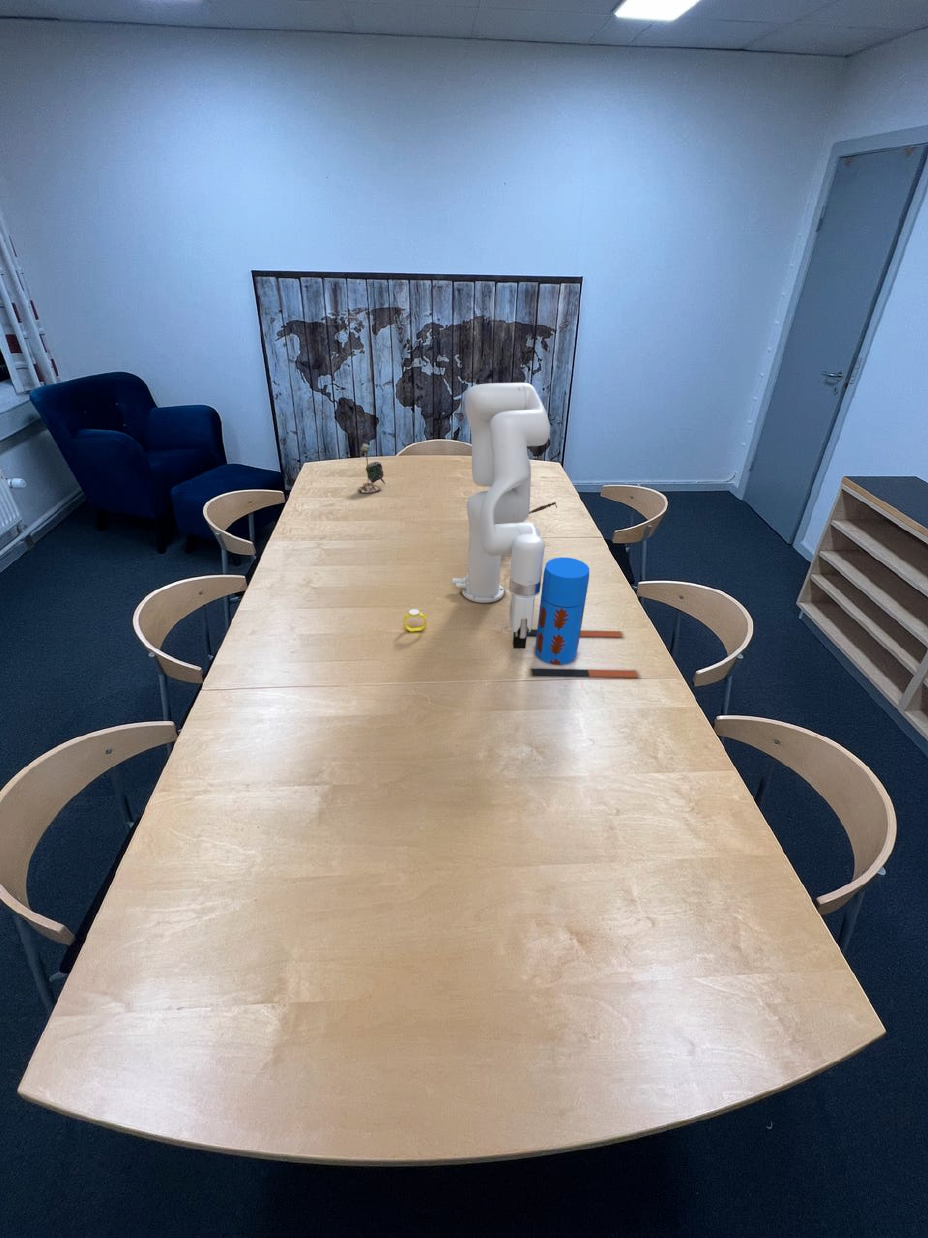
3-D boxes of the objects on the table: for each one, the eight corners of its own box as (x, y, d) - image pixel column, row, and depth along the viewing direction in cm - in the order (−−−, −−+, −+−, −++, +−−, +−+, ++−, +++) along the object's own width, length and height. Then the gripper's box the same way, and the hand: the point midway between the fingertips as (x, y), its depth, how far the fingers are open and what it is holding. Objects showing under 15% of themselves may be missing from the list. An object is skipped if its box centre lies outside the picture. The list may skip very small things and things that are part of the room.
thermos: (575, 668, 154) (589, 581, 140) (532, 661, 155) (542, 575, 142) (577, 643, 163) (590, 559, 149) (537, 638, 164) (546, 554, 151)
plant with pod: (386, 493, 248) (384, 444, 238) (357, 494, 247) (354, 444, 236) (385, 486, 255) (383, 438, 244) (357, 486, 254) (354, 438, 243)
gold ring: (426, 627, 167) (425, 608, 164) (426, 632, 165) (426, 614, 162) (403, 627, 167) (403, 609, 163) (404, 633, 164) (403, 614, 161)
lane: (532, 676, 150) (532, 674, 150) (525, 630, 167) (525, 629, 167) (637, 678, 151) (638, 676, 151) (619, 632, 168) (620, 631, 168)
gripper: (507, 569, 154) (502, 630, 164) (511, 600, 141) (506, 663, 151) (537, 570, 154) (530, 631, 164) (543, 600, 142) (536, 664, 151)
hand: (519, 646), depth 158 cm, fingers closed
